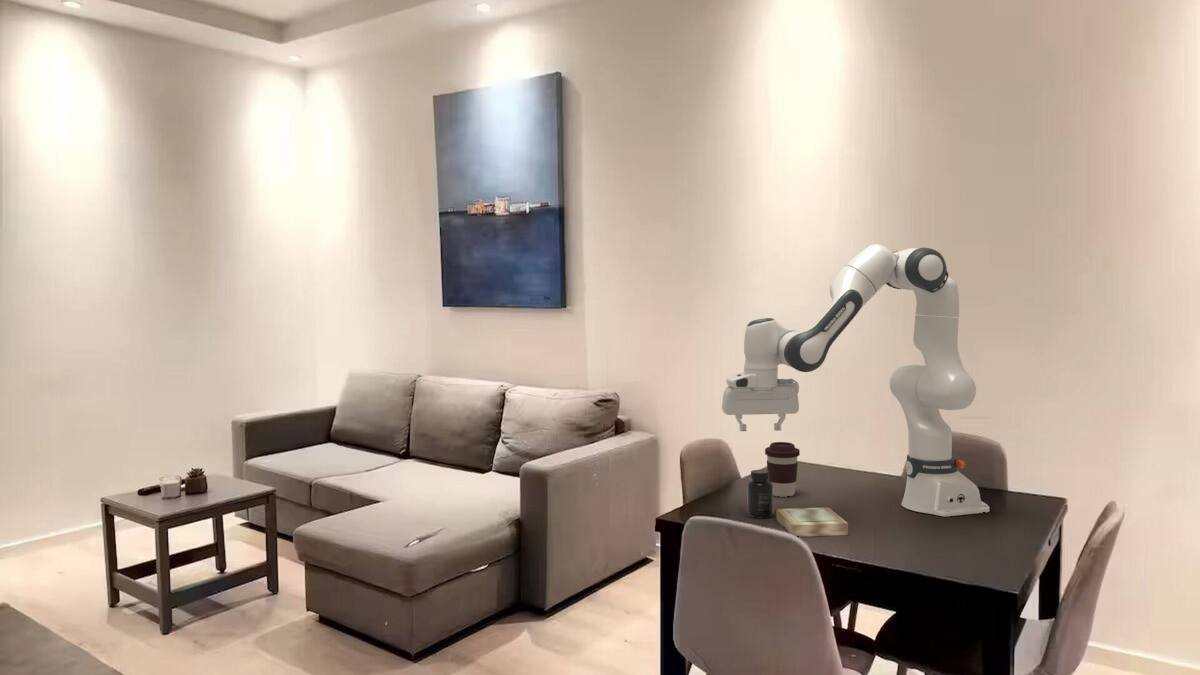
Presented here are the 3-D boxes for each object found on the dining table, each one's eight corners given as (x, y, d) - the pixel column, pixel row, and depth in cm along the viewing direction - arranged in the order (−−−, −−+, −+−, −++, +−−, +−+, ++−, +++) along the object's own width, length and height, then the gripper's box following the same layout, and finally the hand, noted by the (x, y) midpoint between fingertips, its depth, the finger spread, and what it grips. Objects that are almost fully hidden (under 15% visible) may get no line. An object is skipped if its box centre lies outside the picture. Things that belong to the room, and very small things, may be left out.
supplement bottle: (775, 513, 224) (775, 469, 223) (769, 520, 218) (769, 475, 217) (750, 510, 227) (750, 467, 226) (744, 517, 221) (744, 473, 220)
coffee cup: (758, 494, 244) (758, 444, 242) (778, 488, 250) (778, 439, 249) (786, 500, 236) (786, 449, 235) (806, 494, 243) (806, 443, 242)
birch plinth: (828, 518, 219) (828, 506, 218) (847, 534, 205) (848, 522, 204) (776, 520, 218) (776, 508, 217) (792, 536, 204) (792, 524, 203)
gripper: (795, 377, 223) (794, 427, 225) (720, 378, 222) (720, 429, 223) (802, 380, 217) (802, 432, 218) (726, 381, 216) (725, 433, 217)
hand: (760, 430), depth 221 cm, fingers open, 8 cm apart
